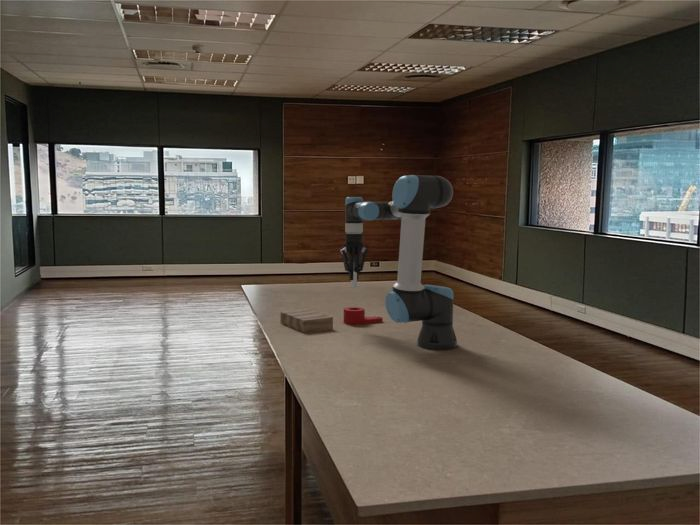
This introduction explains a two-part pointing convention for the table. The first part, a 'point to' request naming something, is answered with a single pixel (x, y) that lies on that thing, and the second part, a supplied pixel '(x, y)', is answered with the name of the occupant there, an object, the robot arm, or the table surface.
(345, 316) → the lever
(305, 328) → the walnut base brick
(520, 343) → the table surface
